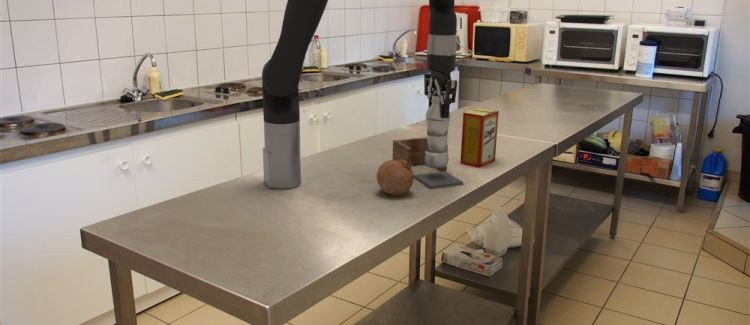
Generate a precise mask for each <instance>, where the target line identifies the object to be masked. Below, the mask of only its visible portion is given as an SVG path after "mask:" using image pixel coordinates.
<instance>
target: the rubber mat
mask: <svg viewBox="0 0 750 325" xmlns="http://www.w3.org/2000/svg"><path fill="white" fill-rule="evenodd" d="M413 175H414V179H415V180H416V181H417V182H419V183H420V184H422V185H423V186H425V187H427V188H428V189H439V188H447V187H448V188H449V187H457V186H463V185H464V181H462V180H461V179H460V178H457V177H456V176H454V175H452V174H450V173H449V172H447V170H446V171H444V172H441V171H437V172H428V173H420V174H413Z"/></svg>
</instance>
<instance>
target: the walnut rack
mask: <svg viewBox="0 0 750 325" xmlns="http://www.w3.org/2000/svg"><path fill="white" fill-rule="evenodd" d="M426 144H427V136H423V137H422V136H421V137H415V138H414V137H412V138H403V139H402V138H401V139H393V140H392V159H391V160H406V161H407V163H408V164H409V165H410V168H411V169H412V166H413V167H414V166H422V165H426V164H425V162H424V155H425V151H426ZM448 148H449V145H448V144H447V151H448V150H449V149H448ZM447 167H448V165H447V166H446V167H445V168H435V170H438V172H444V171H446V172H447V170H448V169H447Z"/></svg>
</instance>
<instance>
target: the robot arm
mask: <svg viewBox="0 0 750 325" xmlns="http://www.w3.org/2000/svg"><path fill="white" fill-rule="evenodd" d="M328 2H329V0H287V2H286V5H285V9H284V14H283V20H282V24H281V29H280V34H279V35H280V36H279V37H278V38H279V39H278V41H277V44H276V46H275V48H274V51H273V52H272V55H271V57H270V58H269V59H268V60H267V61H266V63H265V64H264V65H263V68H262V71H261V84H262V112H263V113H262V114H263V134H264V136H263V137H264V147H262V161H263V162H262V163H263V167H262V168H263V182H264V184H265V185H266V187H268V189H278V190H279V189H281V190H283V189H293V188H295V187H298V186H300V185H301V183H302V171H301V163H302V162H301V121H300V119H301V118H300V117H301V114H300V113H301V112H300V97H299V96H300V95H299V94H300V93H299V85H300V81H301V74H302V70H303V67H304V62H305V59H306V55H307V52H308V49H309V46H310V44H311V41H312V40H313V38H314V36H315V33H316V32H317V29H318V26H319V25H320V21H321V20H322V18H323V15H324V13H325V10H326V8H327V5H328ZM428 5H429V6H428V7H429V21H428V22H429V23H428V38H427V45H426V46H427V47H426V66H425V67H426V70H427V71H429V72H430V73H429V72H427V73H424V74H423V77H424V78H423V79H424V80H423V81H424V82H423V83H424V85H423V86H424V87H423V88H424V91H423V92H424V96H426V97H427V99H428V106H427V107H428V109H429V107H430V106H431V105H432V102H431V100H432V95H434V94H438V96H440V99H441V114H440V117H441V118H442V119H445V118H449V112H450V105H451V104H455V103H456V98H457V90H458V80H456V79H455V80H453V79H452V77H451V73H452V72H455V71H456V61H457V60H456V59H457V45H458V43H457V28H458V27H457V25H458V23H457V22H458V20H457V19H458V17H457V13H456V12H455V0H428ZM444 96H445V99H444ZM428 109H427V110H428Z"/></svg>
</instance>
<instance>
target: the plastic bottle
mask: <svg viewBox="0 0 750 325" xmlns="http://www.w3.org/2000/svg"><path fill="white" fill-rule="evenodd" d="M444 99H445V96H444ZM431 102H432V105H431V106H430V107H429V106H428V107H429V109H427V110H426V113H425V122H426V124H425V125H426V134H427V135H426V137H427V144H426V151H425V155H424V162H425V164H424V165H425V166H426V167H428V168H431V169H436V168H445V167H446V166H447V167H448V164H449V160H450V159H449V158H450V157H449V152H448V151H447V145H448V135H449V134H448V133H449V126H450V120H451V112H450V111H449V118H445V119H442V118H441V117H440V114H441V99H440V96H438V94H434V95H432V100H431Z"/></svg>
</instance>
